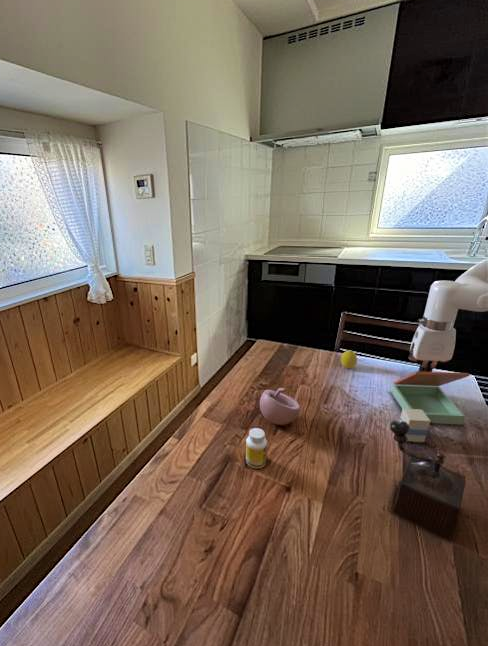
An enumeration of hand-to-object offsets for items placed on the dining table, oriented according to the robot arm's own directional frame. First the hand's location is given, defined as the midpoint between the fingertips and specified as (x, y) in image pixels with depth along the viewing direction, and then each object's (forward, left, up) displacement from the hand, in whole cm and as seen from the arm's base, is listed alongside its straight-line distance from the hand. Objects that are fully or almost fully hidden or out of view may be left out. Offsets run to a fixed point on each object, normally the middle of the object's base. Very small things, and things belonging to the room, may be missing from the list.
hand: (423, 376), depth 106 cm
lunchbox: (0, +4, -9) cm, 10 cm away
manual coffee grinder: (+17, +41, -9) cm, 46 cm away
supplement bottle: (+52, +32, -9) cm, 62 cm away
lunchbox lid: (0, +3, 0) cm, 3 cm away
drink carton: (+9, +18, -9) cm, 23 cm away
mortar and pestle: (+45, +14, -9) cm, 48 cm away
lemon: (+17, -20, -9) cm, 28 cm away
